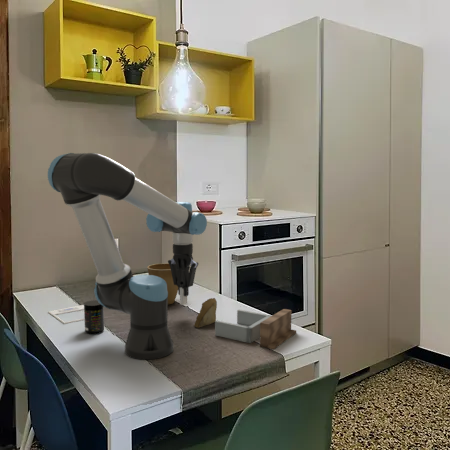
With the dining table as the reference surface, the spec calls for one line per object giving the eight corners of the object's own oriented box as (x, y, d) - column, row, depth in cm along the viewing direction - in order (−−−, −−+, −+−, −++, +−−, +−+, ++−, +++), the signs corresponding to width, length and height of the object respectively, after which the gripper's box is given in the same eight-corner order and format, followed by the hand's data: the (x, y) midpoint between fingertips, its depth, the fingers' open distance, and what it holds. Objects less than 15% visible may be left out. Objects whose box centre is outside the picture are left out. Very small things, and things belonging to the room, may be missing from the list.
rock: (198, 325, 168) (223, 317, 172) (190, 303, 171) (215, 296, 175) (191, 334, 176) (216, 327, 180) (184, 313, 180) (208, 306, 184)
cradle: (250, 343, 156) (250, 328, 156) (215, 335, 164) (215, 321, 163) (272, 329, 170) (272, 315, 170) (238, 322, 178) (238, 309, 177)
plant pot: (189, 302, 203) (189, 266, 201) (161, 309, 193) (161, 271, 191) (168, 296, 214) (168, 261, 212) (141, 302, 204) (140, 265, 202)
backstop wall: (273, 349, 151) (274, 325, 150) (259, 346, 154) (260, 322, 153) (296, 333, 166) (296, 311, 165) (283, 330, 169) (283, 308, 168)
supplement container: (108, 331, 168) (107, 302, 166) (92, 336, 162) (91, 306, 161) (96, 327, 172) (96, 299, 171) (80, 331, 167) (79, 303, 165)
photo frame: (83, 304, 198) (101, 314, 184) (83, 307, 198) (101, 317, 184) (48, 310, 189) (64, 322, 175) (48, 313, 189) (64, 325, 175)
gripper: (202, 243, 177) (203, 303, 181) (175, 240, 184) (176, 298, 187) (190, 246, 171) (191, 309, 174) (162, 243, 178) (164, 303, 181)
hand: (183, 303), depth 181 cm, fingers closed
